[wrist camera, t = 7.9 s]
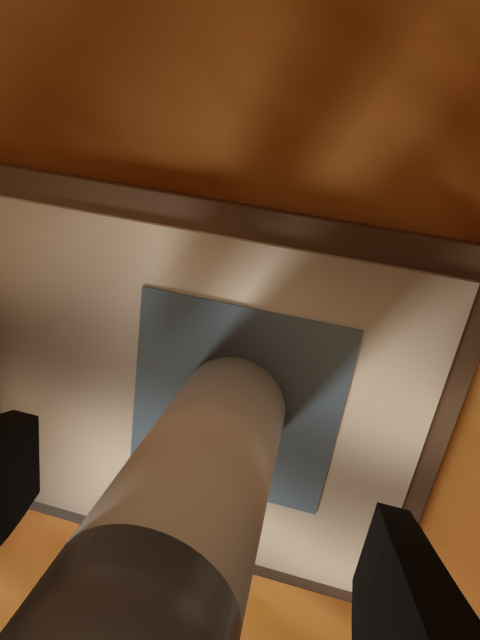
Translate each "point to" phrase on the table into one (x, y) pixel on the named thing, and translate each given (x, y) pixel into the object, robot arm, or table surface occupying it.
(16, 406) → the picture frame
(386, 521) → the robot arm
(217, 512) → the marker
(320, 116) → the table surface
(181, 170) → the table surface
